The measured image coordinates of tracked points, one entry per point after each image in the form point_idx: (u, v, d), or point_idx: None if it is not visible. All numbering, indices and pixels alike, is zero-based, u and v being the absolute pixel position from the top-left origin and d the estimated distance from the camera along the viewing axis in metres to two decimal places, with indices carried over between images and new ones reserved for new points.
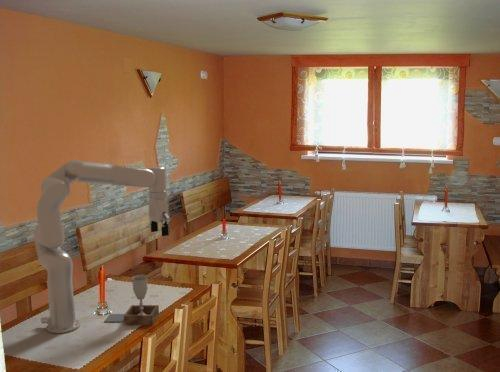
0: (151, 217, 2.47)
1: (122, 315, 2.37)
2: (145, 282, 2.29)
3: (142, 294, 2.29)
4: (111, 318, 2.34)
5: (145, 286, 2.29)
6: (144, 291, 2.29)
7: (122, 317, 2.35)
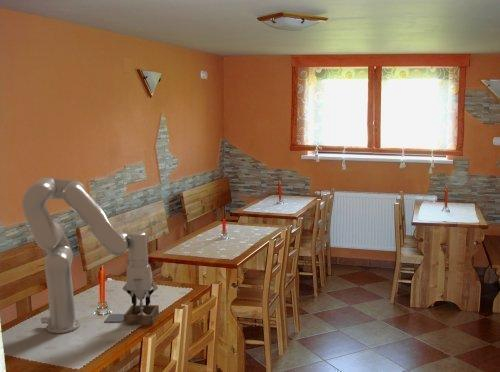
0: (134, 287, 2.28)
1: (122, 315, 2.37)
2: None
3: (142, 294, 2.29)
4: (111, 318, 2.34)
5: None
6: (144, 291, 2.29)
7: (122, 317, 2.35)
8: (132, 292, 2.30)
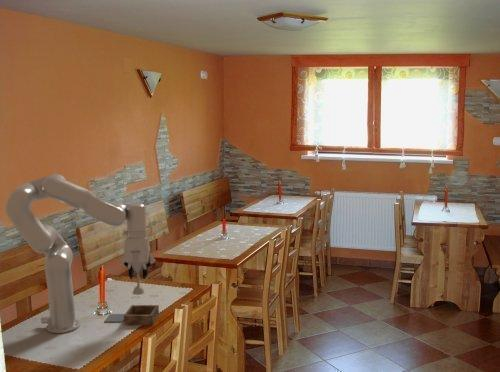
0: (131, 259, 2.26)
1: (122, 315, 2.37)
2: None
3: (139, 266, 2.27)
4: (111, 318, 2.34)
5: None
6: (141, 263, 2.27)
7: (122, 317, 2.35)
8: (129, 264, 2.28)
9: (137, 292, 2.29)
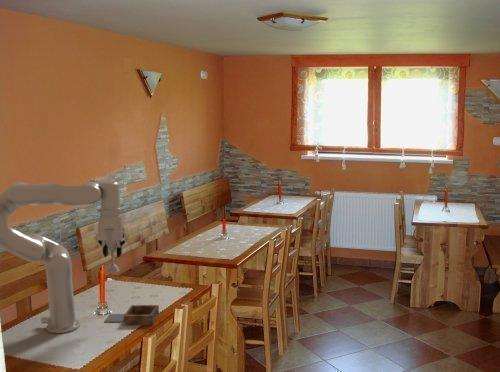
0: (105, 237, 2.26)
1: (122, 315, 2.37)
2: None
3: (113, 244, 2.27)
4: (111, 318, 2.34)
5: None
6: (115, 241, 2.28)
7: (122, 317, 2.35)
8: (103, 242, 2.28)
9: (111, 270, 2.29)
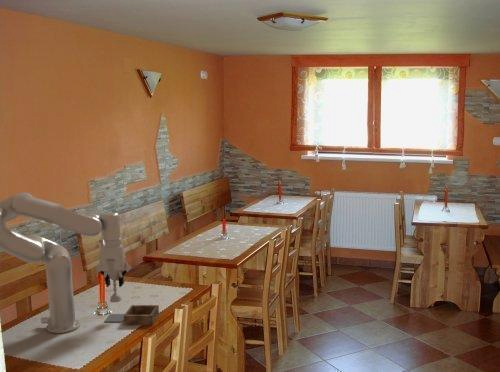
0: (107, 268, 2.29)
1: (122, 315, 2.37)
2: None
3: (115, 274, 2.30)
4: (111, 318, 2.34)
5: None
6: (117, 271, 2.30)
7: (122, 317, 2.35)
8: (105, 273, 2.31)
9: (114, 300, 2.31)
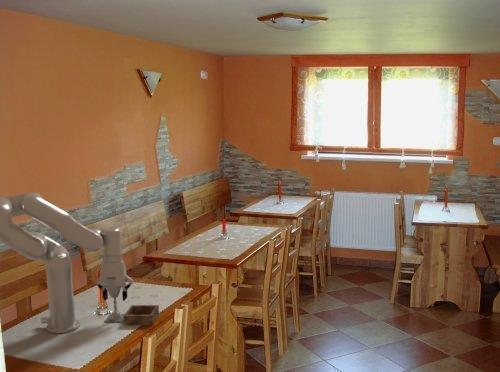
0: (107, 283, 2.30)
1: (122, 315, 2.37)
2: None
3: (116, 292, 2.31)
4: None
5: None
6: (118, 289, 2.31)
7: (122, 317, 2.35)
8: (103, 286, 2.31)
9: (114, 317, 2.33)
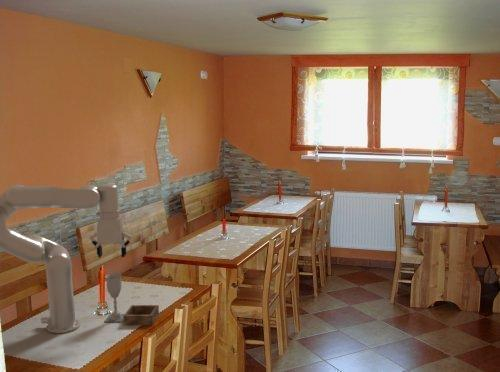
0: (104, 240, 2.27)
1: (122, 315, 2.37)
2: (119, 280, 2.31)
3: (116, 292, 2.31)
4: None
5: (119, 284, 2.31)
6: (118, 289, 2.31)
7: (122, 317, 2.35)
8: (97, 243, 2.29)
9: (114, 317, 2.32)
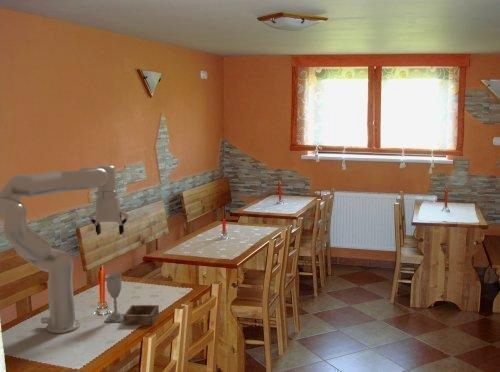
0: (102, 218, 2.37)
1: (122, 315, 2.37)
2: (119, 280, 2.31)
3: (116, 292, 2.31)
4: None
5: (119, 284, 2.31)
6: (118, 289, 2.31)
7: (122, 317, 2.35)
8: (96, 221, 2.39)
9: (114, 317, 2.33)
